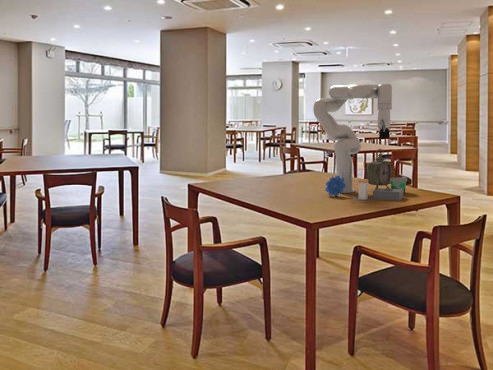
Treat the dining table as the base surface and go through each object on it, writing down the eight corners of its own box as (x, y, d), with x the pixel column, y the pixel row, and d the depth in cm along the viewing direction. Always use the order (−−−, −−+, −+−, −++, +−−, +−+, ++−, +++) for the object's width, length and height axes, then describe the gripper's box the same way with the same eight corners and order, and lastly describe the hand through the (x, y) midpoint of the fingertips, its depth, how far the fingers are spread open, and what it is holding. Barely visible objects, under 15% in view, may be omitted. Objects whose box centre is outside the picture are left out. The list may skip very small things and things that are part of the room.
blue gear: (347, 195, 282) (347, 174, 281) (344, 197, 276) (344, 176, 274) (327, 194, 287) (326, 174, 285) (324, 196, 280) (324, 175, 279)
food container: (399, 196, 273) (399, 178, 272) (389, 195, 278) (389, 177, 276) (411, 193, 281) (411, 176, 279) (402, 192, 285) (402, 175, 284)
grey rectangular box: (372, 200, 264) (372, 190, 263) (377, 197, 273) (377, 188, 272) (399, 201, 257) (399, 192, 257) (403, 198, 266) (403, 189, 265)
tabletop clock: (378, 192, 288) (378, 150, 284) (365, 191, 295) (365, 149, 291) (392, 189, 297) (392, 148, 294) (379, 188, 304) (380, 147, 300)
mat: (351, 201, 264) (351, 199, 264) (356, 197, 272) (356, 196, 272) (369, 202, 259) (369, 200, 259) (374, 198, 268) (374, 197, 268)
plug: (358, 199, 265) (358, 180, 263) (360, 197, 269) (360, 179, 267) (366, 199, 263) (366, 180, 261) (368, 198, 267) (368, 179, 265)
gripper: (381, 107, 276) (381, 137, 279) (373, 107, 261) (373, 139, 264) (395, 106, 273) (394, 137, 275) (387, 106, 258) (387, 139, 260)
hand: (384, 138), depth 269 cm, fingers open, 9 cm apart
